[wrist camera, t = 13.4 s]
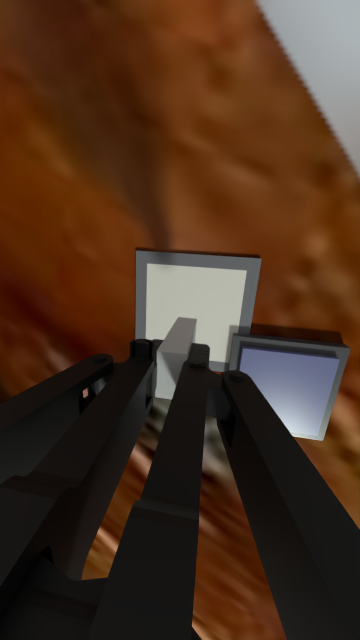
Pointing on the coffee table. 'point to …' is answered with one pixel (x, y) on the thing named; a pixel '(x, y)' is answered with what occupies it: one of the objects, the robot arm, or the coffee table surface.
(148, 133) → the coffee table surface
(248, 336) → the ink pad
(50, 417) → the robot arm
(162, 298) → the grey picture frame
